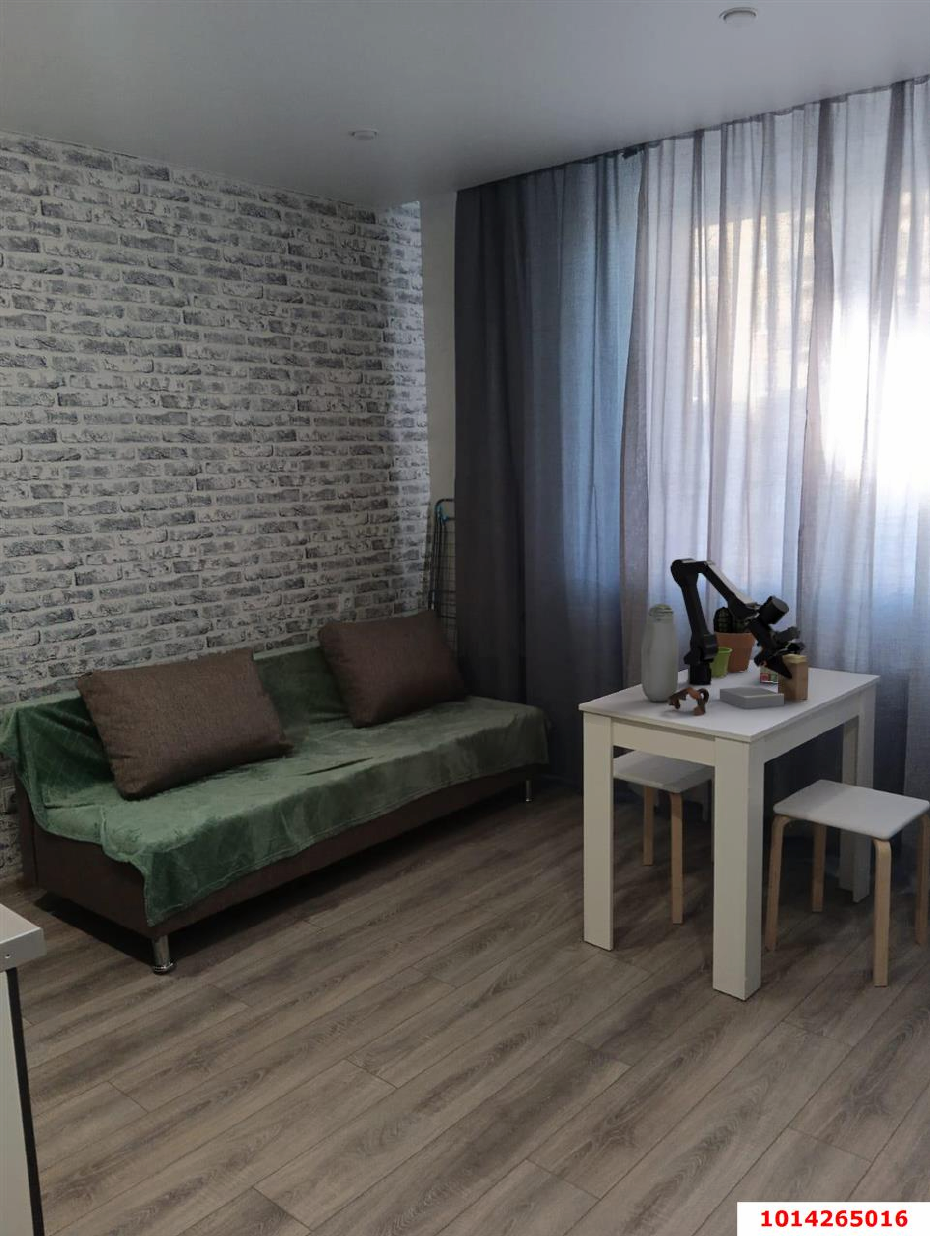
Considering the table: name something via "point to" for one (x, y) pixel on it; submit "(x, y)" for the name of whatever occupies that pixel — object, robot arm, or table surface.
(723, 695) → the dock
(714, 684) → the table surface
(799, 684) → the brown rectangular block
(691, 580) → the robot arm
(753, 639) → the potted plant
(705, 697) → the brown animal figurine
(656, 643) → the glass bottle
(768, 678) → the stack of blocks
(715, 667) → the plant pot
